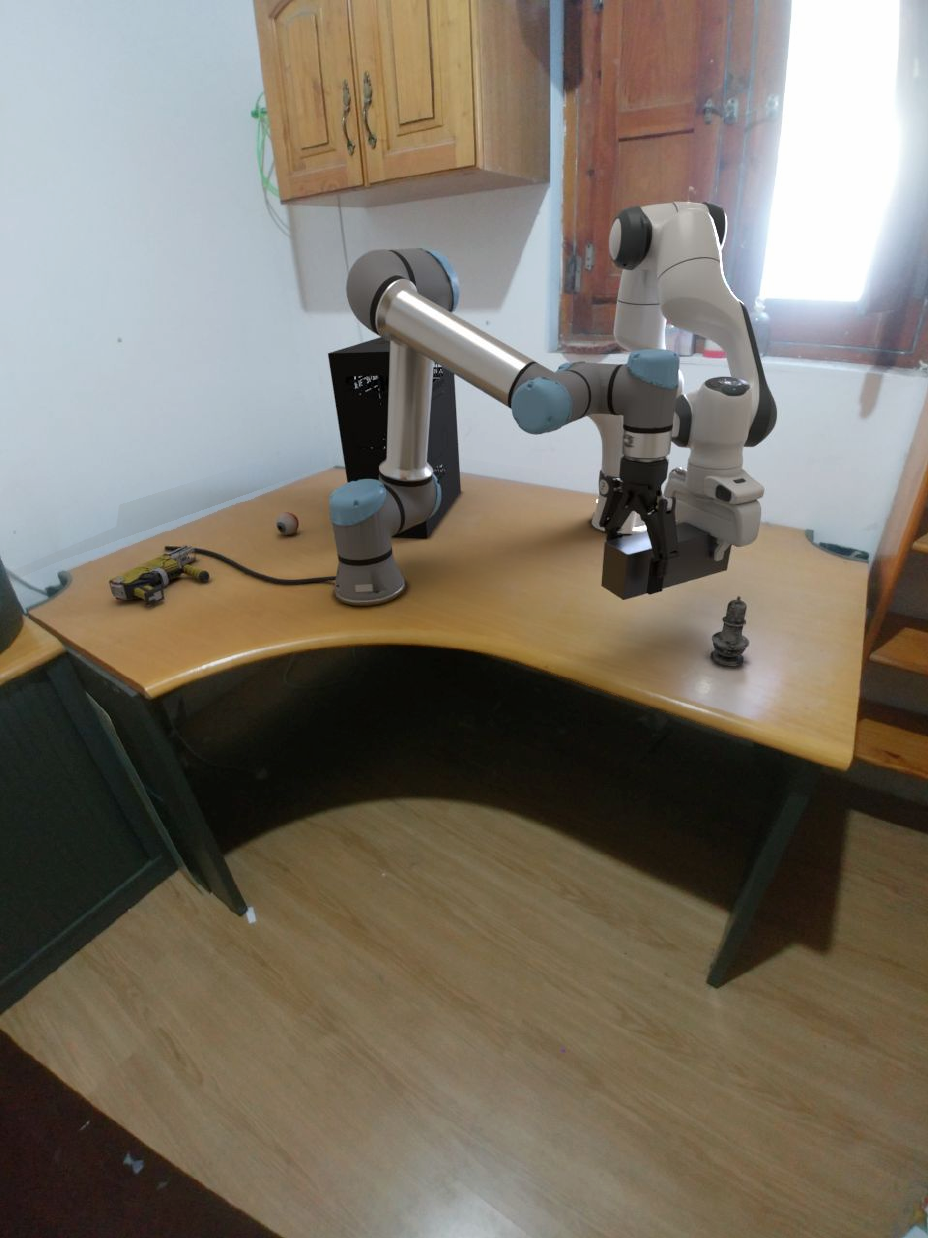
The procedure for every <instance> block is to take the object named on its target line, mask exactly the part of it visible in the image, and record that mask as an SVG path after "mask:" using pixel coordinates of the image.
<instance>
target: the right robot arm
mask: <svg viewBox="0 0 928 1238" xmlns="http://www.w3.org/2000/svg"><path fill="white" fill-rule="evenodd" d="M727 219H728V218H727V215H726V213H725V210H724V208H723V207H722V206H721V205H720V204H716V203H712V202H707V201H703V202H701V203H700V202H699V203H698V202H691V201H670V202H667V203H657V204H656V203H655V204H650V205H649V204H648V205H643V206H640V205H633V206H628V207H627V208H624V209H622V210H620V211H619V213H617V215H616V216H615V217H614V220H613V221H612V225H611V229H610V233H609V238H608V247H609V256H610V260H611V261H612V263H613V264H614V266H615V267H616V268H618V269H621V270H622V272H621V274H620V275H621V276H620V280H619V285H618V292H617V299H616V307H615V316H614V323H613V333H612V334H613V337H614V340H615V342H616V343H617V344H618V346H620V347H621V348H622V349H624V350H626V351H628V352H629V353H632V352H634V351H637V350H646V349H650V350H654V349H665V350H667V346H666V328H667V322H668V323H669V324H671V326H673V327H674V328H677V329H678V330H681V331H683V332H686V333H690V334H693V335H697V336H699V337H702V338H704V339H707V340H710V341H712V342H713V343H714V344H716V345H718V346H719V347H720V348H721V350H722V351H723V352H724V354H725V358H726V362H727V365H728V370H729V374H730V376H715V377H712V378H708V379H706V380H705V381H703V382H702V384H701V386H700V388H698V389H696V390H694V391H689V392H686V393H684V391H685V390H684V389H685V379H684V376H683V373H682V371H681V370H680V369H679V380H678V381H679V387H678V390H677V397H676V405H675V412H674V419H673V430H672V439H671V443H672V444H674V445H675V446H676V447H678V448H683V449H689V450H690V453H689V456H688V459H687V465H686V469H684V468H682V467H679V466H677V467H674V468H673V469H671V470H670V471H669V473H668V476H667V482H666V484H665V487H664V491H663V492H662V495H663V496H666V497H675V498H676V506H675V519H676V524H679V523H683V522H686V523H688V524H690V525H693V526H695V527H697V528H699V529H702V530H704V531H706V532H708V533H710V535H711V536H713V537H716V538H717V544H719V545H718V547H717V548H716V549H713V550H711V555H710V558H711V559H713V560H715V561H719V560H722V559H723V556H724V551H725V550H726V549H727V548H728V547H729V546H730V545H732V546H734V547H737V548H741V547H746V546H749V545H751V544H753V543H754V542H755V541H756V539H757V538H758V535H759V531H760V525H761V519H762V505H761V503H760V502H759V501H760V499H762V498H763V497H764V495H765V486H763V484H761V483H760V482H759V481H757V480H756V479H755V478H753V477H752V475H750V474H749V473H748V472H747V471H746V470H745V469H743V465H744V456H743V452H744V448H754V447H756V446H758V445H759V444H761V443H762V442H763V441H764V440H765V439H767V438H768V436H769V435H770V434H771V433H772V432H773V430H774V428H775V427H776V424H777V419H778V408H777V403H776V401H775V398H774V396H773V393H772V391H771V390H770V387H769V385H768V381H767V378H766V375H765V371H764V367H763V364H762V359H761V354H760V352H759V348H758V343H757V339H756V335H755V332H754V327H753V324H752V320H751V317H750V314H749V311H748V309H747V307H746V305H745V303H744V302H743V301H742V300H741V299H738V298H737V297H736V296H735V294H734V293H733V292H732V291H731V289H730V287H729V285H728V283H727V281H726V278H725V275H724V270H723V269H724V268H723V259H722V249H723V247H724V245H725V242H726V238H727V233H728V232H727V231H728V220H727ZM587 417H588V418H589V419H590V420H591V421H592V422H593V424H594V425H595V426H596V428H597V431H598V432H599V433H598V434H599V436H600V441H601V468H600V470H599V474H598V492H599V493H598V498H597V499H596V507H595V511H594V514H593V517H592V520H591V525H592V526H593V527H594V528H595V529H597V530H599V531H601V532H605V529H604V527H600V526H599V521H600V518H601V515H602V512H603V509H604V506H605V503H606V500H607V497H608V494H609V487H610V480H611V479H615V478H619V470H620V459H621V457H622V456H623V454H622V453H621V448H622V437H623V415H609V414H590V415H588V416H587ZM653 513H654V510H653V511H652V512H651V513H647V514H653ZM607 519H609V518H607ZM621 528H622V529H623V530H622V529H621V530H622V531H617V533H619V532H620V533H622V534H623V535H625V534H626V535H634V534H638V533H642V532H646V531H647V529H646V526H645V522H644V521H642V520H641V517H640V515H639V514H637V513H636V512H635V511H632V512H631V514H630V515H629V517H628V518H627V520H626V521H625V523H624V524H623V526H622V527H621Z"/></svg>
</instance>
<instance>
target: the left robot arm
mask: <svg viewBox="0 0 928 1238" xmlns="http://www.w3.org/2000/svg"><path fill="white" fill-rule="evenodd" d="M345 285H346V286H345V291H346V298H347V302H348V305H349V308H350V310H351V311H352V313H353V315H354V316H355V318H356V320H358V321H359V322H360V324H362V325H363V326H364V327H365V328H366V329H368V330H370V331H371V332H372V333H374V334H376V335H377V336H378V337H382V338H384V339H385V340H388V341H390V361H389V395H388V429H387V459H386V460H384V461H383V462H382V463H381V464H380V466H379V481H378V480H374V479H361V480H358V481H351V482H348V483H347V482H346V483H344V484H342V485H339V486H338V487H337V488H335V489H334V490H333V491H332V493H331V494H330V496H329V499H328V504H329V518H330V520H331V525H332V531H333V537H334V543H335V548H336V554H337V555H336V556H337V560H338V561H337V562H338V564H337V569H336V575H332V576H329V575H328V576H320V577H309V578H300V579H299V578H297V579H284V578H277V577H273V576H269V575H265V574H263V573H259V572H257V571H254V570H252V569H249V568H247V567H245V566H243V565H241V564H239V563H238V562H236V561H234V560H232V559H230V558H229V557H226V556H224V555H223V554H220V553H219V552H215V551H211V550H207V549H203V548H198V547H193V548H194V550H195V553H200V554H204V555H208V556H211V557H215V558H217V559H220V560H222V561H224V562H226V563H228V564H230V565H231V566H233V567H235V568H236V569H239V570H241V571H243V572H245V573H247V574H249V575H250V576H253V577H256V578H258V579H262V580H265V581H267V582H272V583H276V584H282V585H283V584H284V585H285V584H286V585H296V584H297V585H298V584H299V585H300V584H301V585H302V584H311V583H321V582H329V581H330V582H331V581H334V593H335V597H336V599H337V600H338V601H339V602H341V603H342V604H346V605H348V606H355V607H371V606H372V607H373V606H377V605H382V604H386V603H388V602H391V601H393V600H394V599H396V598H398V597H400V596H401V595H402V594H403V593H404V591H405V587H406V584H405V579H404V575H403V573H402V572H401V569H400V567H399V565H398V563H397V561H396V559H395V557H394V553H393V546H392V537H394V535H396V534H398V533H400V532H402V531H404V530H406V529H408V528H411V527H413V526H415V525H417V524H420V523H423V522H424V521H426V520H427V519H428V518H430V517H431V516H432V515H434V514H435V512H436V511H437V509H438V508H439V505H440V502H441V488H440V484H438V483H437V481H438V480H437V478H436V476H435V475H434V474H433V468H432V467H431V466H430V465H429V464H428V463H427V450H428V436H429V422H430V408H431V394H432V380H433V367H435V365H434V362H435V363H437V364H438V366H439V367H441V366H442V367H444V368H445V369H447V370H448V371H450V372H452V373H453V374H454V376H457V377H458V378H460V379H462V380H463V381H465V382H466V383H468V384H470V385H471V386H472V387H475V388H476V389H478V390H479V391H481V392H483V393H484V394H486V395H488V396H489V397H491V398H493V399H494V400H496V401H497V402H499V403H501V404H502V405H504V406H505V407H507V408H508V409H510V410H511V415H512V418H513V419H514V421H515V422H516V424H517V425H518V427H519V429H521V431H523V432H525V433H527V434H530V435H536V436H537V435H543V434H548V433H551V432H556V431H557V430H560V429H561V428H562V427H564V426H567V425H569V424H571V423H573V422H576V421H578V420H580V419H583V418H585V417H588V415H590V414H609V415H623V437H622V448H621V453H622V454H623V456H622V457H621V459H620V470H619V478H615V479H611V480H610V487H609V494H608V497H607V500H606V503H605V506H604V509H603V512H602V515H601V518H600V521H599V526H600V527H604V529H605V531H604V532H605V534H606V539H605V542H606V541H610V540H614V539H618V538H622V537H623V535H624V534H622V533H620V532H619V533H617V531H622V530H623V529H622V528H621V527H622V526H623V524H624V523H625V521H626V520H627V518H628V517H629V515H630V514H631V512H632V511H635V512H636V513H637V514H639V515H640V517H641V520H642V521H644V522H645V526H646V529H647V533H648V536H649V540H650V543H651V547H652V550H653V554H654V557H653V558H650V567H649V576H648V584H647V595H649V596H650V595H654V594H657V593H661V592H663V589H662V588H663V580H664V577H665V576H666V574H667V566H668V560H671V559H675V558H678V557H679V555H680V554H679V545H678V536H677V527H676V524H677V522H676V519H675V506H676V498H675V497H666V496H663V495H662V493H663V490H662V487H663V484H664V483H665V482H666V481H667V480H668V471H669V462H670V459H669V458H668V456H669V455H670V453H671V450H672V449H671V448H672V441H671V439H672V430H673V419H674V412H675V405H676V397H677V390H678V387H679V381H678V380H679V370H680V361H681V360H680V355H679V354H678V352H676V351H675V350H673V349H666V350H665V349H654V350H650V349H646V350H637V351H634V352H630V353H629V355H628V359H627V362H626V363H620V364H619V363H602V362H601V363H600V362H586V361H584V360H582V361H581V360H580V361H575V362H564V363H561V364H560V365H559V366H558V367H557V370H555V371H554V370H552V369H549V368H548V367H546V366H544V365H542V364H540V363H539V362H537V361H535V360H534V359H532V358H531V357H529V356H527V355H525V354H524V353H522V352H520V351H519V350H517V349H515V348H513V347H512V346H511V345H508V344H506V343H505V342H503V341H501V340H499V339H497V338H496V337H494V336H492V335H491V334H489V333H488V332H485V330H482V329H480V328H478V327H477V326H475V325H473V324H472V323H470V322H468V321H467V320H465V319H463V318H461V317H460V316H459V315H456V314H454V313H453V312H455V311H456V309H457V307H458V304H459V301H460V281H459V279H458V275H457V272H456V270H455V268H454V267H453V266H452V263H451V262H450V260H449V259H448V258H447V257H446V256H445V255H443V253H441V252H439V251H436V250H433V249H427V248H423V247H421V248H419V247H411V248H393V249H392V248H391V249H382V248H381V249H373V250H370V251H367V252H365V253H363V254H362V255H361V256H359V257H358V258H357V259H356V260H355V262H354V263H353V264H352V266H351V268H350V269H349V272H348V275H347V278H346V284H345ZM437 364H436V365H437ZM653 510H654V513H653V514H647V513H651V512H652V511H653ZM607 518H609V519H607ZM621 529H622V530H621ZM180 547H181V546H175V545H174V546H172V545H171V546H170V545H165V546H164V550H166V551H174V550H176V549H177V548H180ZM186 548H187V547H186ZM661 550H662V552H660V551H661ZM192 553H194V551H193V552H192Z"/></svg>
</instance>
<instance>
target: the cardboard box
mask: <svg viewBox="0 0 928 1238" xmlns="http://www.w3.org/2000/svg"><path fill="white" fill-rule="evenodd" d="M327 358H328V365H329V370H330V378H331V383H332V390H333V397H334V403H335V410H336V416H337V423H338V430H339V434H340V435H339V436H340V443H341V450H342V455H343V463H344V469H345V476H346V483H348V482H351V481H358V480H361V479H374V480H378V481H379V466H380V464H381V463H382V462H383V461H384V460H386V459H387V429H388V395H389V361H390V341H388V340H385V339H384V338H382V337H380V336H378V337H377V338H373V339H370V340H367V341H364V342H359V343H357V344H354V345H351V346H347V347H344V348H341V349H337V350H334V351H331V352H328V353H327ZM455 378H456V377H455V374H453V373H452V372H450V371H448V370H447V369H445V368H444V367H442V366H439V364H437V363H435V362H434V367H433V380H432V394H431V408H430V422H429V436H428V450H427V463H428V464H429V465H430V466H431V467H432V468H433V474H434V475H435V476H436V478H437V480H438V481H437V483H438V484H440V488H441V502H440V505H439V508H438V509H437V511H436V512H435V514H434V515H432V516H431V517H430V518H428V519H427V520H426V521H424V522H423V523H420V524H417V525H415V526H413V527H411V528H408V529H406V530H404V531H402V532H400V533H398V534H396V535H394V536H393V538H395V537H396V538H397V537H398V538H399V537H400V538H421V539H428V538H429V537H430V535H432V533H433V531H434V530H435V529H436V527H437V526H438V524H439V523H440V521H441V520H442V518H443V517H445V514H446V513H447V512H448V510H449V509H450V508H451V507H452V505H453V504H454V502H455V501H456V499H457V498H458V497H459V495H460V494H461V493H462V488H461V469H460V451H459V435H458V434H459V433H458V416H457V415H458V414H457V413H458V412H457V397H456V396H457V395H456V379H455Z"/></svg>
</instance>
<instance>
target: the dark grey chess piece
mask: <svg viewBox="0 0 928 1238" xmlns="http://www.w3.org/2000/svg"><path fill="white" fill-rule="evenodd" d="M741 599H742V597H741V595H738V596H736V599H732V600H730V601H729V602H728V603H727V607H726V613H725V615H724V616H723V617H722V622H723V624H722V630H720V631H717V632H715V633H713V634H712V635H711V641H712V645H713V648H714V649H713V650H712V651H711V652H710V658H711V660H712V661H713V662H715V663H717V664H719V665H721V666H725V667H738V666H740V665H742V664H743V663H744V656H743V655H742V654H743V653H744V652H745V651H746V649H747V648H748V647H749V646H750V640H749V639H748V638H747V637H746V636H745V635H743V629H744V626H745V625H747V620H746V619H745V618H746V614H747V607H748V606H747V603H746V602H745V601H743V600H741Z"/></svg>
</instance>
